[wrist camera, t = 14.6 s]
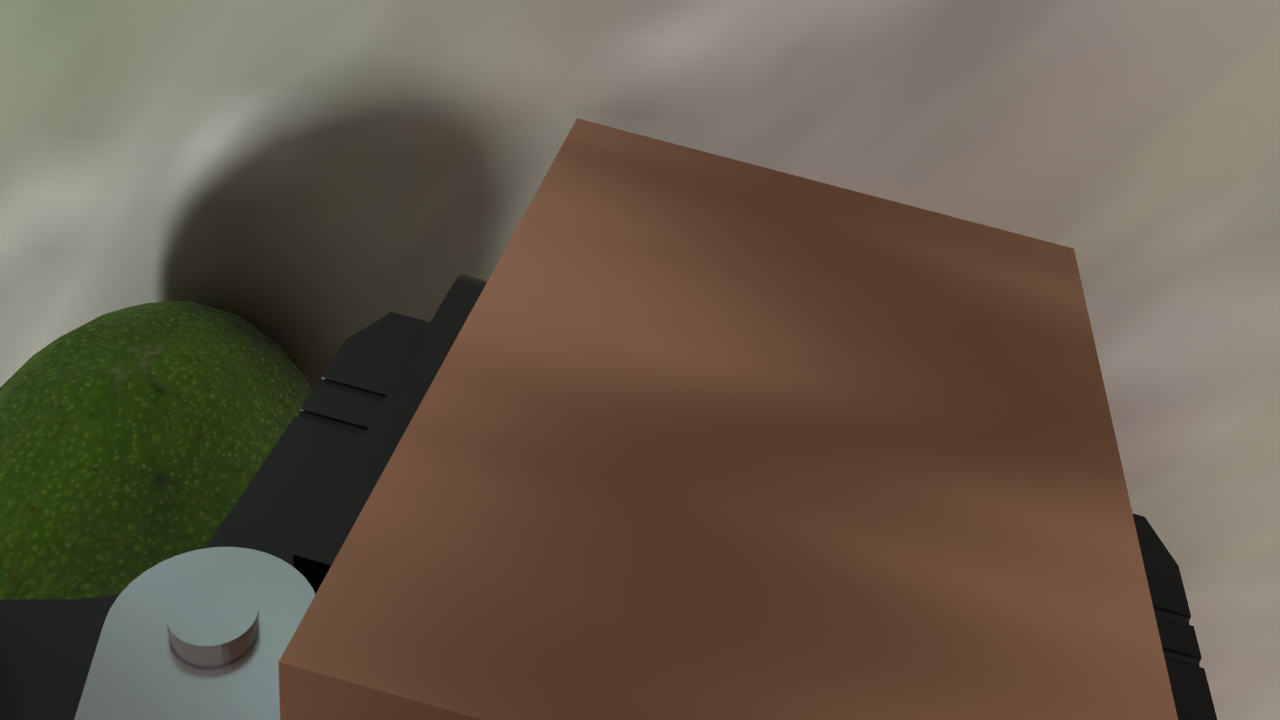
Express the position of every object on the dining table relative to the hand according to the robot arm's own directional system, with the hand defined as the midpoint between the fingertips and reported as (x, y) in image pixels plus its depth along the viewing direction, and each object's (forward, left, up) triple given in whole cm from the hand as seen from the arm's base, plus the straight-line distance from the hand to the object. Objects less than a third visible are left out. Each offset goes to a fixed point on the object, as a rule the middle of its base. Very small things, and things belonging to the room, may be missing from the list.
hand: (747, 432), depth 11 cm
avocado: (+13, +15, -15) cm, 25 cm away
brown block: (0, 0, -1) cm, 1 cm away
